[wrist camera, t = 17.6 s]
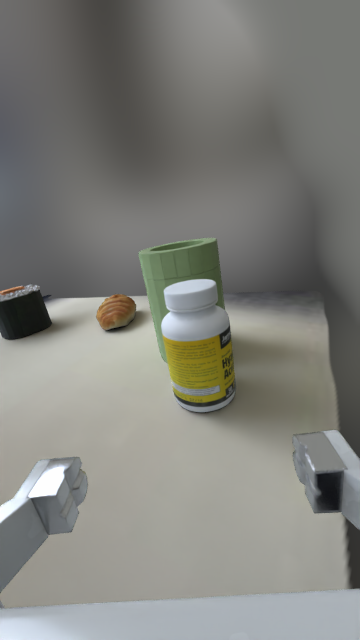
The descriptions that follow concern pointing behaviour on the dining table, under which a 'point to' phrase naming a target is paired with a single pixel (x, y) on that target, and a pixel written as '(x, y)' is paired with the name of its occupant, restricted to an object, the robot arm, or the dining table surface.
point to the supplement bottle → (198, 346)
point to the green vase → (178, 273)
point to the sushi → (22, 312)
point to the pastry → (116, 311)
